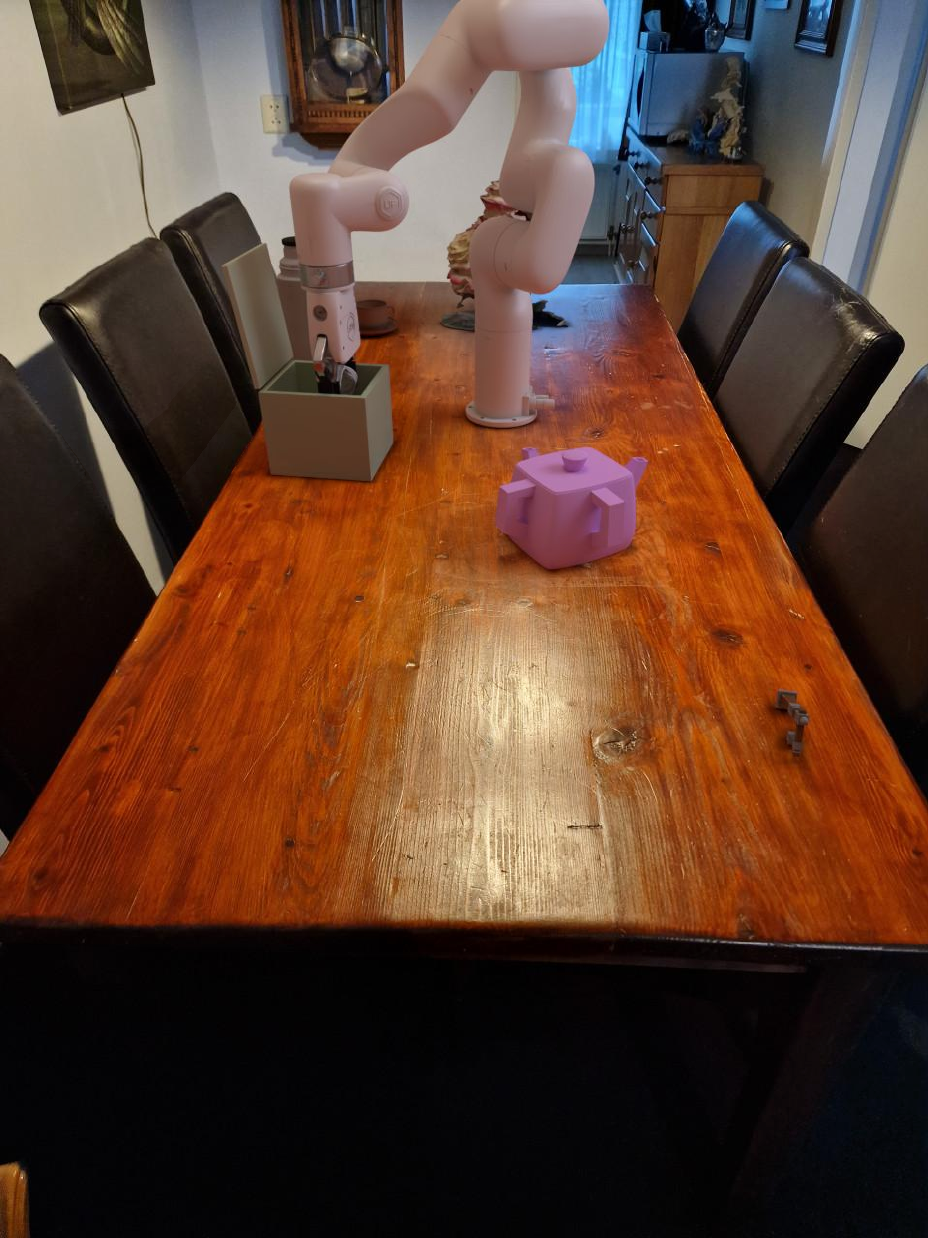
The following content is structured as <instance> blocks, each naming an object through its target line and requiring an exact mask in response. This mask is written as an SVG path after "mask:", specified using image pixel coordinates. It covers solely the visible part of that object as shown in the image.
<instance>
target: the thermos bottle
mask: <svg viewBox="0 0 928 1238" xmlns="http://www.w3.org/2000/svg"><path fill="white" fill-rule="evenodd" d="M281 245H282V246H283V247H282V248H283V249H282V250H283V251H282V253H283V257H282V258H280V259H279V262H278V263H279V264H278V269H279V270H280V271H279V273H278V274H277V275H276V280H277V281H276V283H277V289H278V294H279V298H280V302H281V306H282V310H283V314H284V319H285V323H286V327H287V331H288V335H289V340H290V344H291V348H292V352H293V357H292V358H291V359H290V360H289V361H288V362H287V364H288V363H289V362H290V361H291V360H304V361H313V358H312V354H311V348H310V340H309V330H308V317H307V295H306V290H303V289H302V288H301V282H300V274H299V266H298V257H297V249H296V241H295V235H293V236H286V237H283V238H281ZM325 359H334V358H333V357H325Z"/></svg>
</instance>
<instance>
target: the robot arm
mask: <svg viewBox="0 0 928 1238" xmlns="http://www.w3.org/2000/svg"><path fill="white" fill-rule="evenodd" d="M609 32H610V16H609V11H608V9H607V5H606V3H605V2H604V0H459V1H457V2H456V4H455V5H454V6H453V8H452V9H451V10H450V11H449V14H447V17H446V18H445V19H444V21H443V22H442V25H440V27H439V28H438V31H437V32H436V34H435V35H434V37H433V38H432V40H431V41H430V42H429V44H428V46H427V48H426V49H425V51H424V52H423V54H422V55H421V57H420V58H419V60H418V62H417V63H416V64H415V66H414V67H413V69H412V71H411V72H410V74H409V75H408V77H407V78H406V79H405V81H404V82H403V84H402V85H401V86H400V87H399V88H398V89H397V90H396V91H394V92H393V93H391V94H390V95H389V96H388V97H387V98H386V99H385V100H384V101H383V102H382V103H381V104H379V106H377V108H375V109H374V110H373V111H372V112H371V113H370V114H369V115H367V116H366V117H365V118H364V119H363V120H362V121H361V122H360V123H359V124H358V125H357V127H356V128H354V130H353V131H352V133H351V134H350V135H349V136H348V138H347V139H346V140H345V142H344V144H343V145H342V147H341V148H340V150H339V152H338V153H337V154H336V156H335V158H334V160H333V161H332V162H331V164H330V166H329V168H328V171H327V172H310V173H303V174H298V175H296V176H294V177H293V178H292V179H291V180H290V183H289V186H288V188H289V201H290V208H291V216H292V224H293V231H294V236H295V241H296V249H297V257H298V266H299V274H300V282H301V288H302V289H303V290H306V295H307V317H308V330H309V340H310V348H311V354H312V358H313V365H314V368H315V374H316V381H317V384H318V393H320V394H339V395H341V390H340V381H337V372H338V365H345V366H348V367H350V368H352V369H353V370H354V371H355V372H356V374H357V370H356V363H357V361H356V352H357V351H358V350H359V349H360V347H361V335H360V332H359V324H358V316H357V308H356V302H357V301H356V296H355V291H354V287H355V286H356V281H355V279H356V278H355V268H354V257H353V245H352V234H351V233H352V232H353V233H354V232H369V233H382V232H383V233H384V232H388V231H392V229H393V230H394V229H395V228H396V227H398V226H399V225H400V224H401V223H402V222H403V221H404V220H405V218H406V216H407V214H408V212H409V208H410V196H409V191H408V190H407V187H406V185H405V184H404V182H403V181H402V180H401V179H400V178H399V176H396V175H395V174H394V173H392V172H390V170H392V168H393V167H395V166H396V164H398V162H400V161H401V160H402V159H404V158H405V157H407V155H409V154H411V153H412V152H415V151H416V150H419V149H421V148H424V147H426V146H429V145H431V144H434V143H436V142H438V141H439V140H441V139H443V138H444V137H446V136H448V135H449V134H451V133H452V132H453V131H454V130H455V129H456V127H457V126H458V124H459V122H460V121H461V120H462V118H463V117H464V115H465V113H466V112H467V110H468V109H469V107H470V106H471V104H472V102H473V101H474V100H475V98H476V96H477V95H478V93H479V92H480V90H481V89H482V87H483V86H484V85H485V83H486V81H487V80H488V78H489V77H490V75H492V73H493V72H495V71H496V72H517V73H518V77H519V82H520V83H519V84H520V100H519V106H518V110H517V114H516V119H515V122H514V126H513V128H512V132H511V135H510V139H509V142H508V145H507V149H506V152H505V156H504V159H503V162H502V166H501V169H500V173H499V178H498V180H499V192H500V195H501V197H502V199H503V200H504V202H505V203H507V204H508V205H509V206H511V207H513V208H515V209H519V210H522V211H526V212H530V213H533V215H532V219H531V222H528V221H524V220H519V219H515V218H510V217H493V218H490V219H487V220H485V221H484V222H482V223H481V224H480V225H479V226H478V227H477V229H476V230H475V232H474V233H473V236H472V238H471V242H470V247H469V261H470V268H471V274H472V279H473V286H474V297H475V299H474V311H475V331H474V400H471V402H470V403H468V404H467V405H466V406H465V417H466V418H467V419H468V420H469V422H472V423H474V424H477V425H479V426H482V427H489V428H498V429H503V428H504V429H507V428H517V427H521V426H525V425H528V424H529V423H531V422H533V421H534V420H536V418H537V416H538V410H544V411H555V400H556V399H555V398H549V397H550V396H549V394H536V392H533V385H531V384H530V383H531V382H530V381H531V363H532V362H531V361H532V360H531V359H532V338H533V337H532V335H533V330H532V325H533V319H534V318H533V309H532V303H533V301H532V300H533V299H532V295H537V296H540V295H547V294H550V293H552V292H553V291H555V290H556V289H557V288H558V287H559V286H560V285H561V284H562V283H563V281H564V280H565V277H566V276H567V274H568V272H569V270H570V267H571V265H572V261H573V259H574V255H575V253H576V251H577V247H578V244H579V242H580V239H581V236H582V232H583V230H584V227H585V223H586V221H587V218H588V215H589V212H590V209H591V206H592V202H593V198H594V193H595V184H596V182H595V169H594V166H593V163H592V161H591V159H590V158H589V156H588V155H587V153H585V152H584V151H583V150H582V149H580V148H579V147H576V146H573V145H569V142H570V138H571V135H572V130H573V127H574V124H575V119H576V116H577V115H576V114H577V107H578V99H577V89H576V85H575V82H574V78H573V74H572V71H571V68H578V67H583V66H586V65H588V64H590V63H591V62H593V61H594V60H595V59H597V57H598V56H599V55H600V53H601V52H602V50H603V49H604V47H605V45H606V43H607V40H608V37H609ZM530 293H531V295H530ZM325 357H333V359H325ZM326 365H328V366H332V372H330V370H329V368H328V367H325V366H326ZM357 385H358V381H357V382H356V386H355V388H356V387H357Z"/></svg>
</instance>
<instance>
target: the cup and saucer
mask: <svg viewBox="0 0 928 1238" xmlns="http://www.w3.org/2000/svg"><path fill="white" fill-rule="evenodd" d="M355 302H356V308H357V316H358V324H359V332H360V336H382V335H385V334H389V333H391V332H394V331H395V330H396V329H397V328H398V326H399V321H398V320H397V319H396V318H393V317H394V316H395V314H396V307H395V306H394V305H393V304H388V303H387V301H384V300H381V299H363V300H358V301H355ZM389 308H391V310H392V312H391V314H388V309H389Z"/></svg>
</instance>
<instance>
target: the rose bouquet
mask: <svg viewBox="0 0 928 1238" xmlns="http://www.w3.org/2000/svg"><path fill="white" fill-rule="evenodd" d="M484 191H485V192H486V194H481V195H480V196H479V198H480V201H481V202H482V204H483V206H484V210H483V213H482V215H479V216H478V217H477V219H476V220H475V222H474V223H472V224H471V227H468V228H466V229H465V230H464V231H462V232H459V233H456V234H455V236H454V238H453V240H452V241H450V243H449V245H448V246H447V247H446V250H447V257H446V260H448V263H449V264H448V265H447V267H448V268H449V271H448V272H447V274H446V279H447V280H449V282H450V283H451V289H452V291H453V292H454V294H455V295H457V296H460V297H461V300H460V301H459V302H458V303H457V305H456V307H455V308H456V309H461V308H463V307H465V304H463V301H465V300H466V299H472V300H475V297H474V286H473V279H472V274H471V268H470V261H469V247H470V242H471V238H472V236H473V233H474V232H475V230H476V229H477V227H478V226H479V225H480V224H481V223H482V222H484V221H485V220H487V219H490V218H493V217H510V218H515V219H519V220H524V221H528V222H531V219H532V215H533V213H530V212H526V211H522V210H519V209H515V208H513V207H511V206H509V205H508V204H507V203H505V202H504V200H503V199H502V197H501V195H500V192H499V179H498V180H492V181H490V184H489V185H488V186H487V187H486V188H485V190H484ZM530 295H531V296H532V293H530ZM547 303H549V300H546V299H542V300H539V301H536V302H532V309H533V319H535V318H542V317H543V318H548V319H549V320H550V321H552V322H559V323H558V324H557V326H569V324H568V322H566V320H565V318H564V317H563V316H559V315H556V314H555V313H554V312H551V310H548V311H546V310H545V309H546V307H547V305H546V304H547ZM440 319H441V322H440V324H441V325H443V326H445V327H449V328H452V329H459V330H465V331H466V330H467V331H473V332H475V310H469V311H468V310H467V311H462V312H461V311H453V312H444V313H443V314H442V316H441V318H440ZM535 330H538V325H533V324H532V331H535Z"/></svg>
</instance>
